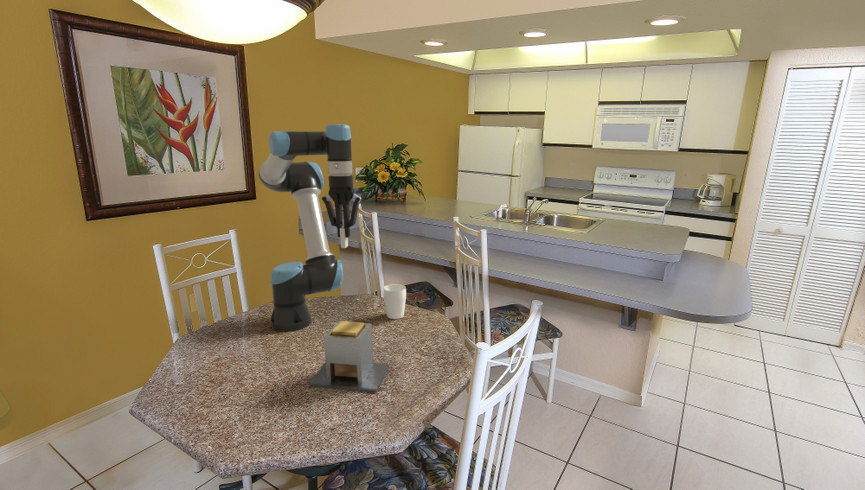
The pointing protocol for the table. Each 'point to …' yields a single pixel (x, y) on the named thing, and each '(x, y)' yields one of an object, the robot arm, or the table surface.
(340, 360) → the chute
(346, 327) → the block
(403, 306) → the cup
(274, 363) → the table surface
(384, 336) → the table surface
